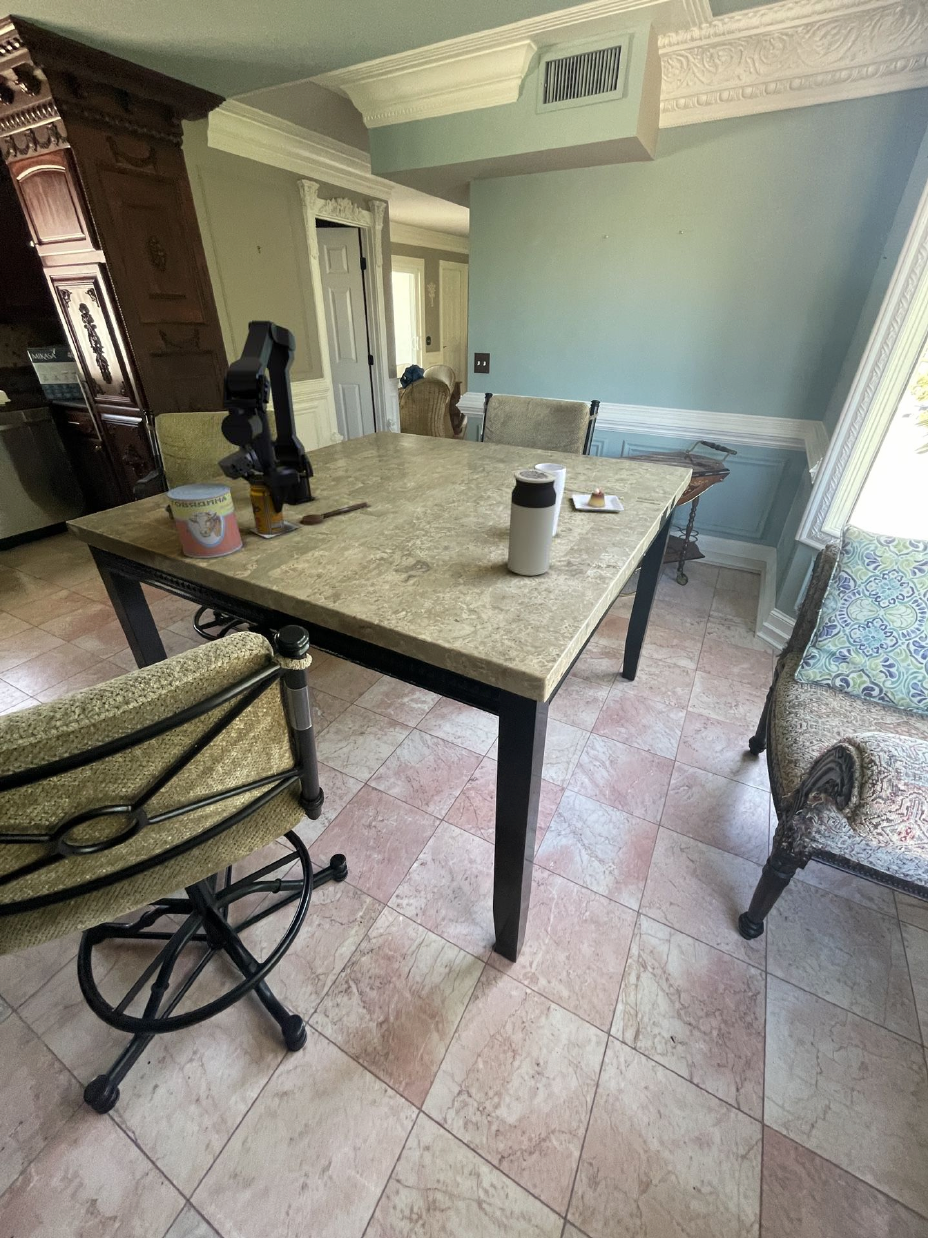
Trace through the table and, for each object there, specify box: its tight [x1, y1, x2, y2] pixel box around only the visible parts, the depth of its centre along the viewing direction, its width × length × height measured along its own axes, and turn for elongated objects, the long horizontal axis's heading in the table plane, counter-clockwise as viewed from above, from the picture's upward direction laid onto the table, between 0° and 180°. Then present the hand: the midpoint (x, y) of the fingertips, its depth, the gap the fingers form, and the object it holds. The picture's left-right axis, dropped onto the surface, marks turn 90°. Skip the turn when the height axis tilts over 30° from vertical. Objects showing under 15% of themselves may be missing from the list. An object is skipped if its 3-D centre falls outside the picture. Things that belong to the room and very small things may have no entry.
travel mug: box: [507, 469, 557, 577], centre depth 93 cm, size 8×8×18 cm
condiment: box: [248, 475, 300, 539], centre depth 110 cm, size 7×8×12 cm
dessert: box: [571, 487, 625, 513], centre depth 130 cm, size 12×12×5 cm
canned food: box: [166, 482, 243, 559], centre depth 101 cm, size 11×11×12 cm
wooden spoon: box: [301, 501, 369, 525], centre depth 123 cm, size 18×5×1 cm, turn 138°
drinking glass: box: [533, 462, 567, 538], centre depth 109 cm, size 7×7×15 cm
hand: (271, 509), depth 111 cm, fingers closed on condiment, 6 cm apart
